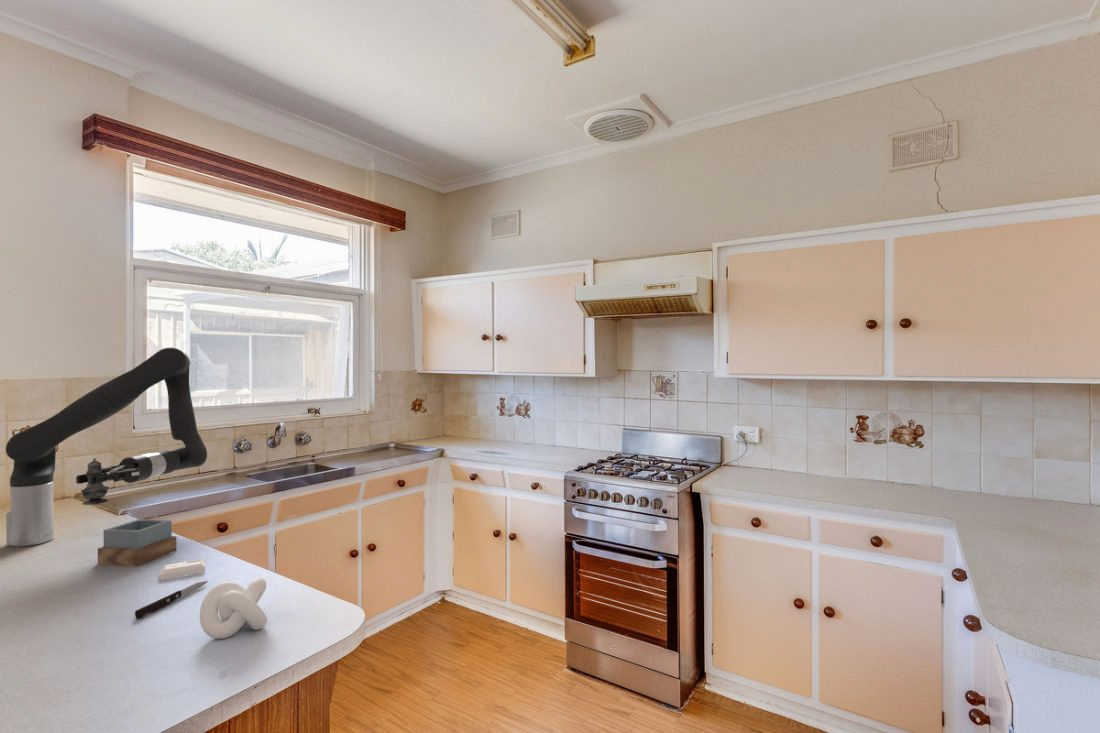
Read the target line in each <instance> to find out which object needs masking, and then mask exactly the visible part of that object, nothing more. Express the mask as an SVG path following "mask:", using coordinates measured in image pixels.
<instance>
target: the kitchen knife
mask: <svg viewBox="0 0 1100 733" xmlns="http://www.w3.org/2000/svg"><path fill="white" fill-rule="evenodd" d="M208 582H209V580H204V581H199V582H196V583H193V584H191V585H189V586H187V587H185V588H182V589H181V590H178V591H175V592H173V593H171V594H169V595H167V596H165V597H162V598H160V599H158V600H156V601H154V602H152V603H148V604H147V605H146V606H143V607H141V608H139V609H136V610H135V611H134V616H135V619H136V620H140V618H141V619H142V618H143V617H145V616H146V615H148V614H150V613H154V612H157V611H159V610H161V609H164V608H165V607H166V606H168V605H170V604H172V603H173V602H175V601H177V600H178V599H179V598H180V599H181V597H182V598H184V597H185V595H186V596H188V595H190V594H191V592H192V593H193V591H194V592H196V591H197V590H199V589H201V588H202V587H204V586H205V585H206V584H208ZM195 590H196V591H195ZM189 593H190V594H189ZM187 594H188V595H187ZM183 596H184V597H183Z"/></svg>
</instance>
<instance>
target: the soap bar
mask: <svg viewBox="0 0 1100 733" xmlns="http://www.w3.org/2000/svg"><path fill="white" fill-rule="evenodd" d="M205 564H206V563H205V560H203V559H202V558H199V559H194V560H187V561H183V562H175V563H171V564H170V563H169V564H165V565H164V566H163V567H161V569H160V571H161V572H160V581H166V580H172V579H171V578H173V579H177V578H176V577H178V578H181V577H180V576H184V577H186V576H185V575H189V576H192V575H191V574H195V575H198V574H197V573H200V574H203V573H202V572H205V573H206V567H205V566H206V565H205Z"/></svg>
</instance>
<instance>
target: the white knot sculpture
mask: <svg viewBox="0 0 1100 733" xmlns="http://www.w3.org/2000/svg"><path fill="white" fill-rule="evenodd" d="M266 589H267V580H265V579H264V578H262V577H257V578H254V579H253V580H252V581H250V583H249V584H248V586H247V587H246V589H245V588H244V587H243V586H242V585H240V584H239V583H237V582H234V581H224V582H220V583H218V584H217V585H215V586H213V587H212V588H211V589H210V590H209V591H208V592H207V593H206V595H205V597H204V598H203V600H202V602H201V605H200V609H199V622H200V626H201V628H202V631H203V632H204V633H205V634H206V635H207V636H209V637H210V638H212V639H215V640H224V639H227V638H230V637H233V635H235V634H236V633H237V632H239V631H240V629H241V628H242V627H243V625H244V624H245V623H246V624H248V626H249V627H250V628H251V629H253V630H254V631H255V630H256V631H257V630H258V631H259V630H261V629H263V628H264V627H265V626H266V624H267V622H268V617H267V615H266V613H265V612H264V610H263V609H262V608H261V607H260V606H259V605H258V603H259V601H260V600H261V598H262V596H263V595H264V593H265V591H266Z"/></svg>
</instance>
